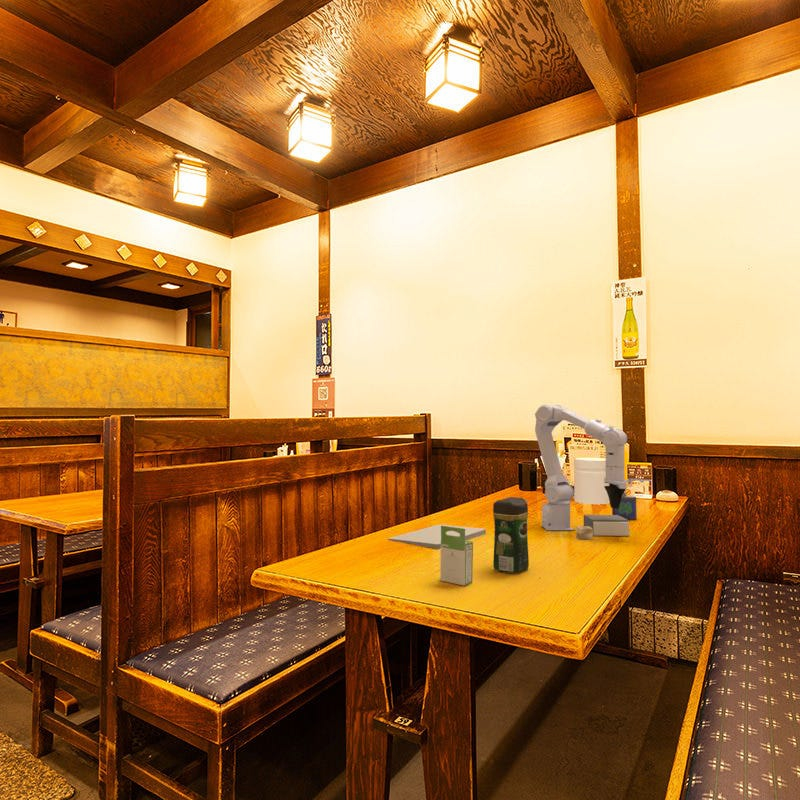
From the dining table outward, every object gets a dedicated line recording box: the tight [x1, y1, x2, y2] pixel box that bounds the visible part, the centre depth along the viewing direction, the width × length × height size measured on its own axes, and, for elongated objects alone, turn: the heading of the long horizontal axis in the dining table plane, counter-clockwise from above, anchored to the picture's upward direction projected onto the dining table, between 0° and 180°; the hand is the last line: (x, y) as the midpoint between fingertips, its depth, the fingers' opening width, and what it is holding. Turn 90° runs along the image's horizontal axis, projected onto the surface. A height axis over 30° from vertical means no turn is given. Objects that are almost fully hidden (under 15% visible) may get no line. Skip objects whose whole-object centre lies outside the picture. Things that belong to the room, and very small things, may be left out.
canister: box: [573, 457, 610, 506], centre depth 253 cm, size 16×16×20 cm
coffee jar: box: [492, 496, 530, 574], centre depth 141 cm, size 10×8×19 cm
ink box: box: [439, 525, 474, 587], centre depth 130 cm, size 7×4×13 cm, turn 52°
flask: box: [611, 491, 638, 521], centre depth 210 cm, size 9×3×11 cm, turn 88°
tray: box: [593, 521, 630, 537], centre depth 185 cm, size 12×9×4 cm
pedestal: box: [576, 525, 594, 541], centre depth 177 cm, size 4×4×4 cm
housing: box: [583, 514, 629, 529], centre depth 186 cm, size 12×9×5 cm
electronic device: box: [388, 524, 487, 550], centre depth 179 cm, size 29×20×2 cm
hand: (614, 508), depth 177 cm, fingers closed
